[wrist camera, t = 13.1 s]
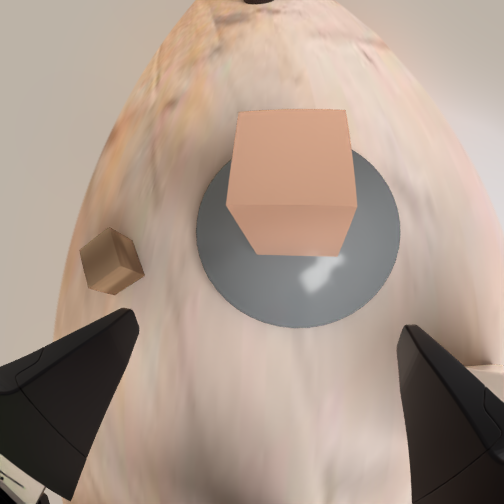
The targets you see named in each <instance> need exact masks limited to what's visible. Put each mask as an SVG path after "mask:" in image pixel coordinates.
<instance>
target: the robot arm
mask: <svg viewBox="0 0 504 504" xmlns="http://www.w3.org/2000/svg"><path fill="white" fill-rule="evenodd" d="M138 335H139V325H138V322H137V320H136V317H135V314H134V312H133V310H131V309H127V308H121V309H119V310H117V311H115V312H113V313H111V314H109V315H107V316H105V317H103V318H101V319H99V320H97V321H95V322H93V323H91V324H89V325H87V326H85V327H83V328H81V329H79V330H77V331H75V332H73V333H71V334H69V335H67V336H65V337H63V338H61V339H59V340H57V341H55V342H53V343H51V344H49V345H47V346H45V348H44V347H43V348H41V349H39V350H37V351H35V352H33V353H31V354H29V355H27V356H24V357H22V358H20V359H18V360H15V361H13V362H11V363H8V364H6V365H3V366H1V367H0V504H50V503H49V500H48V496H47V495H46V494H45V493H44V490H45V488H46V487H47V488H48V489H50V490H51V491H53V492H55V493H57V494H58V495H60V496H61V497H63V498H65V499H67V500H69V501H71V499H72V497H73V494H74V492H75V489H76V486H77V483H78V480H79V478H80V475H81V472H82V470H83V467H84V464H85V462H86V459H87V456H88V454H89V451H90V449H91V446H92V444H93V441H94V439H95V437H96V434H97V432H98V429H99V427H100V425H101V422H102V420H103V418H104V415H105V413H106V411H107V409H108V406H109V404H110V402H111V400H112V397H113V395H114V393H115V391H116V389H117V387H118V384H119V382H120V380H121V378H122V376H123V374H124V372H125V369H126V367H127V365H128V362H129V359H130V356H131V354H132V351H133V348H134V345H135V343H136V340H137V337H138ZM397 359H398V369H399V382H400V393H401V399H402V405H403V411H404V418H405V425H406V432H407V440H408V449H409V459H410V472H411V489H412V503H413V504H504V402H503V401H502V400H501V399H499V398H498V397H497V396H496V395H495V394H494V393H493V392H492V391H491V390H490V389H489V388H488V387H485V385H484V384H483V383H482V382H481V381H480V380H479V379H478V378H477V377H476V376H475V375H473V374H472V373H471V372H470V371H469V370H468V369H467V368H466V367H465V366H464V365H462V364H461V363H460V362H459V361H458V360H457V359H456V358H455V357H453V356H452V355H451V354H450V353H449V352H448V351H447V350H446V349H444V348H443V347H442V346H441V345H440V344H439V343H437V342H436V341H435V340H434V339H433V338H432V337H430V336H429V335H428V334H427V333H426V332H425V331H423V330H422V329H421V328H420V327H419V326H417V325H405V326H404V327H403V329H402V332H401V335H400V338H399V341H398V344H397Z"/></svg>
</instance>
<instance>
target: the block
mask: <svg viewBox="0 0 504 504" xmlns="http://www.w3.org/2000/svg"><path fill="white" fill-rule="evenodd" d="M79 251H80V255H81V260H82V264H83V269H84V273H85V277H86V281H87V284H88V288H89V289H93V290H97V291H101V292H104V293H108V294H112V295H116V294H117V293H119V292H120V291H122V290H123V289H125V288H126V287H128V286H129V285H131V284H133V283H134V282H136V281H137V280H139V279H140V278H142V277H143V276H145V274H144V272H143V269H142V266H141V264H140V261H139V258H138V255H137V252H136V250H135V247H134V244H133V241H132V240H130V239H129V238H127V237H125V236H123V235H122V234H120V233H118V232H117V231H115V230H113V229H112V228H110V227H109V228H107V229H106V230H105V231H103V232H102V233H101V234H99V235H98V236H97V237H96V238H94V239H93V240H92V241H90V242H89V243H88V244H87V245H85V246H84V247H83V248H82V249H80V250H79Z"/></svg>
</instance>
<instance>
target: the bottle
mask: <svg viewBox="0 0 504 504" xmlns="http://www.w3.org/2000/svg"><path fill="white" fill-rule="evenodd" d="M244 1H245V2H246V3H249V4H261V3H267V2H271V1H273V0H244Z"/></svg>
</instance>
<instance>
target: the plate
mask: <svg viewBox="0 0 504 504" xmlns="http://www.w3.org/2000/svg"><path fill="white" fill-rule="evenodd" d="M352 157H353V165H354V175H355V185H356V196H357V209H356V211H355V214H354V217H353V219H352V222H351V224H350V227H349V230H348V232H347V235H346V237H345V240H344V242H343V244H342V247H341V249H340V252H339V254H338V256H337V257H327V256H289V255H257V254H256V252H255V251H254V249H253V248H252V246H251V244H250V243H249V241H248V240H247V238H246V236H245V235H244V233H243V232H242V230H241V229H240V227H239V225H238V224H237V222H236V221H235V219H234V217H233V216H232V214H231V213H230V211H229V210H228V208H227V206H226V200H227V192H228V185H229V177H230V170H231V162H232V159H231V160H230V161H229V162H228V163H227V164H226V165H225V166H224V167H223V168H222V169H221V170H220V171H219V172H218V174H217V175H216V176H215V177H214V179H213V180H212V182H211V183H210V185H209V187H208V189H207V191H206V193H205V194H204V197H203V200H202V202H201V205H200V208H199V213H198V218H197V228H196V235H197V246H198V251H199V256H200V259H201V262H202V265H203V268H204V270H205V272H206V274H207V276H208V278H209V280H210V281H211V282H212V284H213V285H214V287H215V288H216V289H217V291H218V292H219V293H220V294H221V295H222V296H223V297H224V298H225V299H226V300H227V301H228V302H229V303H230V304H232V305H233V306H234V307H235V308H237V309H238V310H240V311H241V312H243V313H245V314H246V315H248V316H250V317H252V318H254V319H257V320H259V321H261V322H264V323H268V324H271V325H275V326H280V327H288V328H310V327H316V326H322V325H326V324H329V323H332V322H335V321H338V320H340V319H342V318H344V317H346V316H348V315H350V314H352V313H354V312H355V311H357V310H358V309H360V308H361V307H363V306H364V305H365V304H366V303H367V302H368V301H369V300H371V299H372V298H373V297H374V296H375V295H376V293H377V292H378V291H379V290H380V289H381V287H382V286H383V285H384V283H385V281H386V280H387V278H388V276H389V275H390V273H391V271H392V268H393V266H394V263H395V261H396V257H397V253H398V249H399V242H400V220H399V214H398V209H397V206H396V203H395V200H394V197H393V195H392V193H391V191H390V189H389V187H388V185H387V183H386V182H385V180H384V179H383V177H382V176H381V175H380V173H379V172H378V171H377V170H376V169H375V168H374V166H372V165H371V164H370V163H369V162H368V161H367V160H366V159H365V158H363V157H362V156H361V155H359V154H358V153H356V152H355V151H353V150H352Z"/></svg>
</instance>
